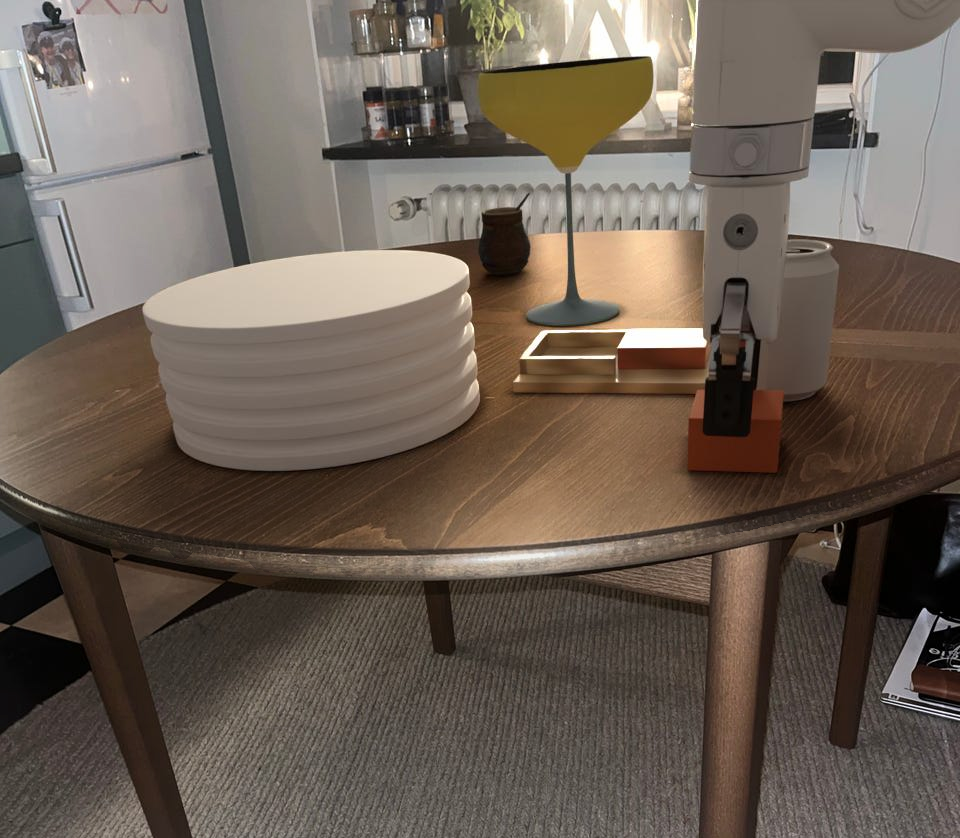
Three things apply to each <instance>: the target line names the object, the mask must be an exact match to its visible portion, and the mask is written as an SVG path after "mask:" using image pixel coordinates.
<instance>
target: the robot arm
mask: <svg viewBox="0 0 960 838" xmlns="http://www.w3.org/2000/svg"><path fill="white" fill-rule="evenodd" d="M695 9H696V12H695V34H694V35H695V36H694V57H693V81H692V104H691V128H690V147H689V169H688V170H689V173H688V175H689V176H688V181H689V182H690V183H692V184H695V185H701V186H706V197H705V212H704V213H705V214H704V215H705V216H704V234H703V235H704V236H703V255H702V257H703V259H702V301H701V302H702V303H701V305H702V328H703V338H704V339H705V340H706V341H707V342H709V343H710V344H711V343H712V344H711V353H710V363H709V373H708V377H706V379H705V395H704V412H703V434H704V435H706V436H726V437H746V436H748V435H749V434H750V427H751V415H752V404H753V392H754V390H756V388H757V380H758V369H759V357H760V346H761V339H767V340H766V344H771V343H772V342H774V341H775V340H776V339H777V334H778V327H779V318H780V310H781V300H782V291H783V279H784V271H785V261H786V248H787V240H789V239H788V237H789V227H790V226H789V224H790V210H791V209H790V207H791V182H796V181H801V180H803V179H807V178H808V177H809V172H810V171H809V170H810V161H811V152H812V140H813V134H814V133H813V132H814V121H815V118H814V117H815V114H816V113H815V112H816V106H817V105H816V103H817V95H818V86H819V85H818V83H819V75H820V64H821V57H822V55H821V54H822V52H837V53H839V52H842V53H843V52H846V53H863V54H895V53H901V52H907V51H910V50H913V49H917V48H920V47H922V46H924V45H926V44H929V43H931V42H932V41H934V40H935V39H937V38H939V37H940V36H942V35H943V34H944V33H946V32H947V30H949V29H950V28H951V27H953V26H954V24H955V23H956V22H957V21H958V20H959V19H960V0H696V8H695ZM755 337H757V338H755Z"/></svg>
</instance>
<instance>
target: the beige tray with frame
mask: <svg viewBox="0 0 960 838" xmlns="http://www.w3.org/2000/svg"><path fill="white" fill-rule="evenodd" d="M711 344H712V343H711ZM711 344H710V343H709V342H707V341H706V340H705V339H704V338H703V327H702V328H700V327H698V328H697V327H696V328H693V327H691V328H628V329H582V330H581V329H580V330H579V329H577V330H576V329H575V330H574V329H573V330H541V331H540V333H538V335H537V336H536V337H535V338H534V340H533V341H532V342H531V343H530V344H529V345H528V347H527V348H526V350H524V352H523V354H521V355H520V357H519V358H518V369H519V371H518V372H519V374H518V375H517V376H516V378H515V379H514V380H513V382H512V387H513V389H512V390H513V393H525V394H526V393H527V394H528V393H533V394H535V393H536V394H537V393H541V394H544V393H545V394H546V393H547V394H652V395H653V394H659V395H661V394H662V395H663V394H665V395H666V394H668V395H669V394H673V395H676V394H677V395H696V393H697V390H705V379H706V377H708V373H709V363H710V353H711Z"/></svg>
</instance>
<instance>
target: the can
mask: <svg viewBox="0 0 960 838" xmlns="http://www.w3.org/2000/svg"><path fill="white" fill-rule="evenodd" d="M833 249H834V246H833V245H831V243H829V242H826V241H822V240H816V239H787V248H786V261H785V271H784V279H783V291H782V300H781V310H780V318H779V327H778V334H777V339H776V340H775V341H774V342H772V343H771V344H766V340H767V339H761V346H760V357H759V369H758V380H757V388H756V390H784V397H783V402H794V401H802V400H804V399H808V398H810V397H813V396H814V395H815V394H816V393H817V392H818V391H819V390H820V389H822V388H823V387H824V386H826V384H827V382H828V376H829V368H830V367H829V365H830V358H831V357H830V356H831V347H832V337H833V329H834V319H835V310H836V301H837V292H838V291H837V290H838V280H839V271H840V265H839V264H838V262H837V261H836V260H835V259H834V257H833V256H832V255H831V251H832V250H833ZM755 338H757V337H755Z"/></svg>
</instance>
